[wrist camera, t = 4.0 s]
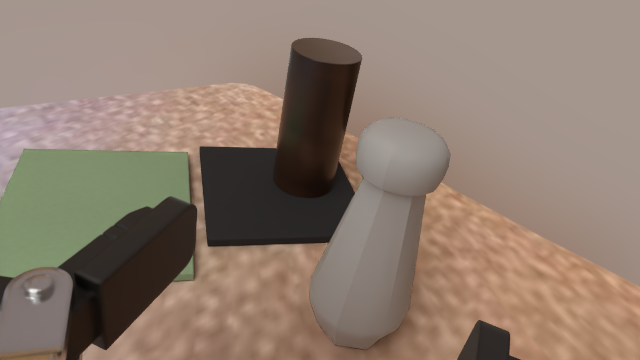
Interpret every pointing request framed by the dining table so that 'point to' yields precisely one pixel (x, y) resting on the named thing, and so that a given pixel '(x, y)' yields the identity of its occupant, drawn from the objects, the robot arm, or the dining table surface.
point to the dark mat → (263, 201)
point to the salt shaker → (378, 234)
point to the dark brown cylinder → (314, 115)
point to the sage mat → (80, 201)
